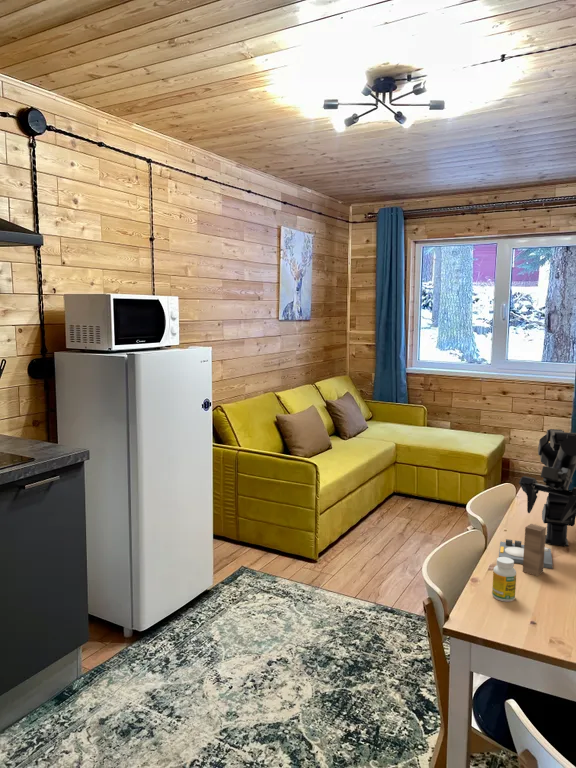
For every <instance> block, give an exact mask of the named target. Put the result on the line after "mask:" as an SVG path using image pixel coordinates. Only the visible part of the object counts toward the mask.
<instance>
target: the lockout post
mask: <svg viewBox="0 0 576 768" xmlns="http://www.w3.org/2000/svg"><path fill="white" fill-rule="evenodd" d="M524 529H525V530H524V542H523V543H524V544H523V545H524V557H523V564H522V572H524V573H526V572H527V574H530V575H532V576H536V577H539V575H540V574H542V573H543V572H544V567H543V566H544V551H545V547H546V546H545V545H546V543H545V536H546V534H547V526H542V525H539V524H538V525H537V524H536V523H535V524H534V523H530V524H528V525H526V526H525V528H524Z"/></svg>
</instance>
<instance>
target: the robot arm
mask: <svg viewBox="0 0 576 768" xmlns="http://www.w3.org/2000/svg"><path fill="white" fill-rule="evenodd" d="M537 454H538V455H537V456H539V458H540V462H541V463H542V464H543V466H542V469H541V474H540V478H543V479H542V481H543V483H544V484H542V483H538V480H537V479H536V478H535V477H531V476H526V475H523V476H521V477H520V479H519V481H518V483H519V486H520V488H521V490H522V491H523V492H524V493H525V495H526V497H527V498H526V499H527V504H526V506H527V507H526V509H527V510H526V511H527V513H528V514H530V513H531V511H532V510H533V508H534V506H535V503H536V501H537V498H538V495H537V494H539V492H543V493H548V494H547V497H546V502H545V503H544V505H543V508H542V510H541V519H542V523H543V524H546V536H545V545H546V544H547V545H555V546H560V547H567V548H568V547H569V540H568V526H569V527H574V526H575V525H576V487H575V486H574V487H573V488H572V490H568V489H569V486H570V484H572V482H573V479H572V478H573V477H574V476H573V475H574V473H575V471H576V432H565V430H563V429H554V428H553V429H552V428H550V429H547V431H546V434H545V435H543V436H542V437H541V438H540V439H539V443H538V448H537Z"/></svg>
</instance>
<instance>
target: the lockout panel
mask: <svg viewBox="0 0 576 768" xmlns="http://www.w3.org/2000/svg"><path fill="white" fill-rule="evenodd" d="M552 556H553V555H552V549H551V548H548V547H546V546H545V551H544V566H543V569H544V568H545V569H552V570H553V558H552ZM498 557H507V558H511V559H512V560H514V564H519V563H520V565H523V557H524V544H522V541H521V540H514V543H513V539H508V538H506V539H505V541H501V540H500V542H499V551H498Z"/></svg>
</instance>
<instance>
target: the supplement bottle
mask: <svg viewBox="0 0 576 768" xmlns="http://www.w3.org/2000/svg"><path fill="white" fill-rule="evenodd" d="M514 566H515V563H514V560H512V559H511V558H507V557H499V556H498V557H496V565H494V567H493V571H492V587H491V588H492V591H491V594H492V596H493V598H494V599H496V600H498V601H500V602H505V603H507V602H509V603H510V602H512V601H514V600H516V599H515V598H516V586H517V570H516V569H515V568H514Z"/></svg>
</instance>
